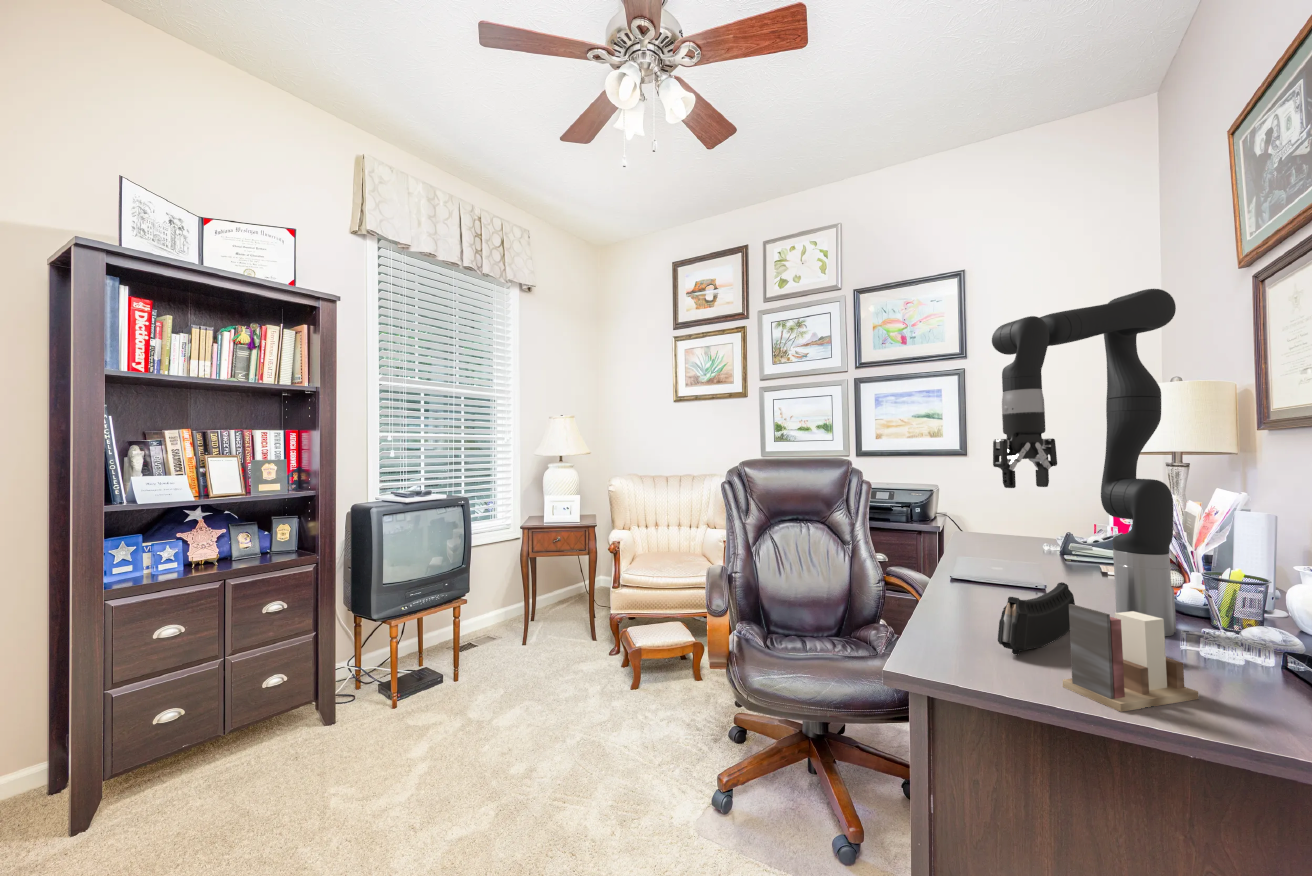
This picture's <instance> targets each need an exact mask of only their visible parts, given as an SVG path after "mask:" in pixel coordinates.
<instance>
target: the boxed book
mask: <svg viewBox="0 0 1312 876" xmlns="http://www.w3.org/2000/svg"><path fill="white" fill-rule="evenodd" d="M1114 618H1117V619H1121V630H1122V650H1123V659H1124V660H1127V661H1130V662H1133V663H1135V664H1138V665H1141V666H1144V667H1147V668H1148V679H1149V690H1155V689H1162V688H1167V674H1166V657H1167V656H1166V640H1165V638H1166V636H1164V619H1162V618H1158V617H1154V616H1150V615H1146V614H1142V613H1138V612H1134V611H1130V612H1121V613H1116V612H1114Z"/></svg>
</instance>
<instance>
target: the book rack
mask: <svg viewBox="0 0 1312 876" xmlns="http://www.w3.org/2000/svg"><path fill="white" fill-rule="evenodd" d="M1069 622H1070V630H1069V638H1070V640H1069V641H1070V658H1071V659H1070V662H1071V678H1066V679H1062V687H1063V688H1064V689H1066V690H1068V691H1071V692H1074V693H1075V694H1079V695H1080V696H1083V697H1085V698H1087V697H1088V698H1087V699H1089V700H1093V701H1094V702H1097V703H1099V704H1102V705H1103V706H1106V707H1109V708H1111V709H1113V710H1116V711H1118V712H1120V713H1122V712H1129V711H1134V710H1140V709H1141V708H1142V709H1146V708H1145V707H1148V708H1152V707H1151V706H1154V707H1158V706H1165V705H1170V704H1176V703H1181V702H1182V703H1183V702H1189V701H1196V700H1199V690H1195V689H1192V688H1189V687H1187V686H1185V672H1184V662H1183V661H1179V660H1176V659H1172V658H1169V657H1167V656H1166V674H1167V688H1162V689H1155V690H1149V679H1148V668H1147V667H1144V666H1141V665H1138V664H1135V663H1133V662H1130V661H1127V660H1124V659H1123V650H1122V630H1121V619H1117V618H1115V616H1114V617H1113V616H1111V614H1109V613H1105V612H1103V611H1098V610H1095V609H1092V608H1089V607H1085V606H1080V605H1076V604H1075V605H1073V604H1069Z"/></svg>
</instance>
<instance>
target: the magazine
mask: <svg viewBox="0 0 1312 876" xmlns="http://www.w3.org/2000/svg"><path fill="white" fill-rule="evenodd" d="M1069 604H1073V605H1076V603H1075V598H1074V594H1073V593H1072V591H1071V590H1070V588H1069V585H1068V584H1067V583H1066V582H1058V583H1057V584H1056V586H1055V587H1054V588H1053V589H1051V590H1050V591H1048V592H1046V593H1043V594H1042V595H1040V596H1037V597H1034V598H1029V599H1020V598H1019V597H1016V596H1008V597H1007V602H1006V605H1005V606H1004V607H1003V608H1002V609H1003V610H1002V611H1001V616H1000V619H999V622H998V623H999V624H998V630H997V631H998V633H997V642H998V644H999V645H1002V646H1003V648H1004V649H1007V650H1008V649H1009V650H1011V654H1012V653H1013V654H1012V655H1015V654H1017V655H1016V656H1019V655H1020V651H1026V650H1031V649H1038V648H1039V649H1040V648H1043V647H1045V646H1047V645H1046V644H1048V643H1050V642H1052V641H1053V642H1055V641H1057V640H1059V639H1060V638H1061V637H1062V636H1064V635H1066V633H1067V632H1069V631H1070V622H1069ZM1054 640H1055V641H1054ZM1053 642H1052V643H1053ZM1050 644H1051V643H1050ZM1044 645H1045V646H1044ZM1048 645H1049V644H1048ZM1042 646H1043V647H1042ZM1018 654H1019V655H1018Z"/></svg>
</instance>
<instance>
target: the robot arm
mask: <svg viewBox="0 0 1312 876" xmlns="http://www.w3.org/2000/svg"><path fill="white" fill-rule="evenodd" d="M1176 305H1177V304H1176V302H1175V299H1174V297H1173V296H1172V294H1170V293H1169V292H1167V291H1166V290H1163V289H1160V288H1148V289H1143V290H1140V291H1139V290H1138V291H1136V292H1132V293H1130V294H1125V295H1122V296H1119V297H1116V298H1114V299H1111V300H1109V302H1107V303H1103V304H1098V305H1093V306H1087V307H1081V308H1075V309H1069V310H1063V311H1058V312H1051V313H1049V314H1046V315H1043V316H1040V317H1039V316H1034V315H1031V316H1026V317H1023V318H1019V319H1016V320H1012V321H1010V322H1006V323H1004V324H1002V325H999V327H997V328H996V329H995V331H994V332H993V334H992V337H991V344H992V346H993V348H994V350H996V352H999V353H1000V354H1003V355H1009V356H1010V355H1015V358H1014V360H1013V362H1011V363H1010V364H1008V365H1006V366H1004V367H1003V369H1002V372H1001V381H1002V382H1001V383H1002V385H1001V387H1002V395H1001V396H1002V398H1001V412H1002V413H1001V419H1002V420H1001V421H1002V433H1003V434H1004V435H1006V438H997V439H993V441H992V442H993V443H992V444H993V445H992V466H993V467H994V468H998V469H1000V470H1001V471H1002V472H1001V473H1002V484H1003V486H1004V488H1005V489H1016V487H1017V486H1016V482H1017V481H1016V470H1015V468H1016V467H1017V465H1018V464H1019V463H1020V462H1021V461H1022V460H1028V461H1029V462H1031V463H1032V464H1033V465H1034V467H1035V485H1036V487H1037V488H1048V487H1049V483H1050V476H1049V475H1050V472H1049V470H1050V469H1051V468H1052V467H1057V465H1058V457H1057V447H1056V439H1055V438H1049V437H1048V438H1043V437H1042V434H1044V433H1046V412H1045V411H1046V409H1045V398H1044V394H1043V382H1042V381H1043V379H1042V370H1043V369H1042V368H1043V366H1044V363H1045V359H1046V356H1047V355H1046V354H1047V351H1048V347H1049V346H1050V347H1051V346H1059V345H1064V344H1068V343H1069V344H1070V343H1073V342H1078V341H1082V340H1086V339H1089V338H1094V337H1096V336H1100V335H1103V339H1104V340H1103V341H1104V346H1105V347H1104V348H1105V356H1106V382H1107V383H1106V399H1105V400H1106V401H1105V402H1106V407H1105V408H1106V409H1105V410H1106V412H1105V413H1106V438H1105V439H1106V441H1105V456H1104V457H1105V458H1104V464H1103V470H1102V471H1103V472H1102V479H1101V486H1100V501H1101V505H1102V508H1103V510H1104V511H1105V512H1106V514H1108V515H1110V516H1111V517H1114V518H1119V519H1125V520H1132V525H1131V530H1129V531H1128V532H1126V533H1123V534H1118V535H1115V536H1114V537H1113V538H1112V556H1113V557H1112V558H1113V572H1114V573H1113V575H1114V594H1115V610H1116V611H1115V613H1121V612H1130V611H1134V612H1138V613H1142V614H1146V615H1150V616H1154V617H1158V618H1162V619H1164V636H1165V637H1170V636H1173V635H1174V634H1175V633H1176V632H1177V623H1176V622H1177V619H1176V606H1175V605H1176V602H1175V601H1176V600H1175V589H1174V587H1173V586H1172V578H1171V577H1172V574H1171V571H1172V570H1171V561H1170V559H1171V557H1170V555H1171V554H1170V545H1171V543H1172V541H1173V539H1174V499H1173V498H1174V497H1173V494H1172V492H1171V489H1170V488H1169V486H1168V485H1167V484H1166V483H1164V482H1163V481H1162V480H1159V479H1151V478H1137V471H1138V470H1137V466H1138V460H1139V456H1140V454H1141V452H1142V450H1143V449H1144V448H1145V446H1146V444H1147V443H1148V441H1149V440H1150V439H1151V438H1152V436H1153V435H1154V433H1155V431H1156V430H1157V428H1158V426H1159V425H1160V422H1161V419H1162V390H1161V387H1160V385H1159V383H1158V381H1157V380H1156V379H1155V377H1154V376H1153V375H1152V374H1151V372H1150V371H1149V370H1148V369H1147V368H1146V367H1145V365H1144V364H1143V362H1142V361H1141V359H1140V357H1139V354H1138V347H1137V335H1138V334H1142V333H1146V332H1151V331H1154V330H1158V329H1160V328H1163V327H1165V326H1167V325H1168V324H1169V323H1170V322H1171V321H1172V320H1173V319H1174V317H1175V314H1176V310H1177V309H1176ZM1049 459H1050V460H1049Z"/></svg>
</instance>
